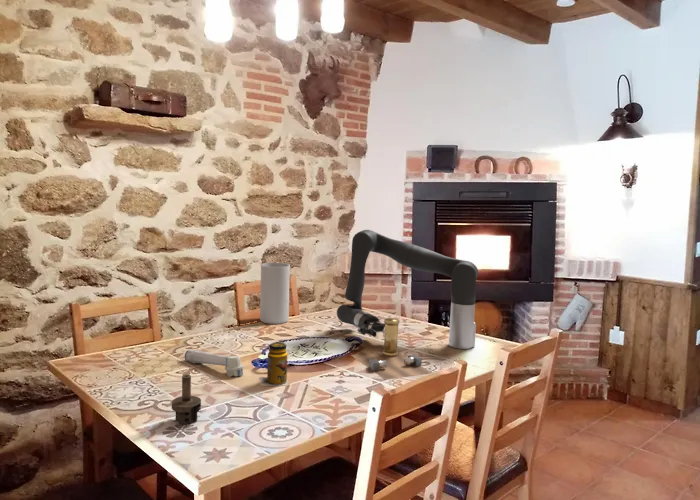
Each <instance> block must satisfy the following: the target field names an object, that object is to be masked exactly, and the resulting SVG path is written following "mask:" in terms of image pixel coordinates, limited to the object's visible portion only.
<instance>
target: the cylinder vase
mask: <svg viewBox="0 0 700 500" xmlns="http://www.w3.org/2000/svg"><path fill="white" fill-rule="evenodd" d="M290 272H291V265H290V263H284V262H265V263H262V264H261V265H260V293H259V295H260V297H259V298H260V300H259V301H260V302H259V303H260V304H259V306H260V309H259V310H260V311H259V320H260V321H261V322H262V323H265V324H271V325H278V324H279V325H281V324H285V323H287V322H289V319H290V317H289V316H290V315H289V314H290V313H289V312H290V277H291V276H290V275H291V273H290Z"/></svg>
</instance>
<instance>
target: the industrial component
mask: <svg viewBox="0 0 700 500" xmlns="http://www.w3.org/2000/svg"><path fill="white" fill-rule="evenodd" d="M191 377H192V375H190V374H184V375H182V377H181V396H178V397H175V398H174V399H172V400H171V410H172V411H174V412H175V422H176V423H178V424H179V425H188V424H192V422H198V413H200V411H201V409H202V407H201V406H202V399H201V398H200V397H198V396H195V395H192V394H191V393H192V378H191Z"/></svg>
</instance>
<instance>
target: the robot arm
mask: <svg viewBox="0 0 700 500" xmlns="http://www.w3.org/2000/svg"><path fill="white" fill-rule="evenodd" d="M371 252H372V253H377V254H380V255H384V256H387V257H388V258H391V259H392V260H394V261H395V262H397V263H398V264H400V265H402V266H405V267H407V268H410V269H413V270H416V271H420V272H427V273H433V274H440V275H443V276H446V277H450V278H451V284H450V297H451V300H450V315H449V316H450V318H449V335H448V346H449V347H451V348H454V349H460V350H468V349H472V348H474V347H476V345H475V344H476V334H477V333H476V331H477V323H476V322H475V314H476V313H475V312H476V300H477V298H476V286H477V285H476V284H477V279H478V276H479V269H478V267H477V266H476V264H474V263H473V262H472V261H468V260H464V259H459V258H454V257H450V256H446V255H443V254H441V253H438V252H436V251H433V250H431V249H428V248H425V247H423V246H419V245H416V244H413V243H409V242H405V241H401V240H397V239H394V238H393V239H392V238H390V237H387V236H385V235H383V234H381V233H378V232H376V231H373V230H371V229H363V230H361V231H358V232H357V233H355V234H354V235H353V237H352V240H351V257H350V267H349V273H348V279H347V284H346V288H345V292H344V293H345V294H344V298H345V299H346V300H347V301H349V302H353V304H341V305H340V306H338V308H337V310H336V317H337V318H338V320H339V321H340V322H341V323H345V324H348V325H352V326H354V327H356V328H357V332H358V333H359V334H361V335H363V336H365V335H366V334H367V335H368V336H372V337H373V338H376V337H377V333H382V334H383V333H384V334H385V323H384V322H381V320H380V319H379V318H378V316H375V315H374V314H372V313H369V312H368V311H365V310H363V305H362V297H363V293H364V292H363V291H364V288H365V282H366V281H365V279H366V278H365V277H366V272H365V271H366V266H367V265H366V263H367V260H368V257H369V254H370V253H371Z"/></svg>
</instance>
